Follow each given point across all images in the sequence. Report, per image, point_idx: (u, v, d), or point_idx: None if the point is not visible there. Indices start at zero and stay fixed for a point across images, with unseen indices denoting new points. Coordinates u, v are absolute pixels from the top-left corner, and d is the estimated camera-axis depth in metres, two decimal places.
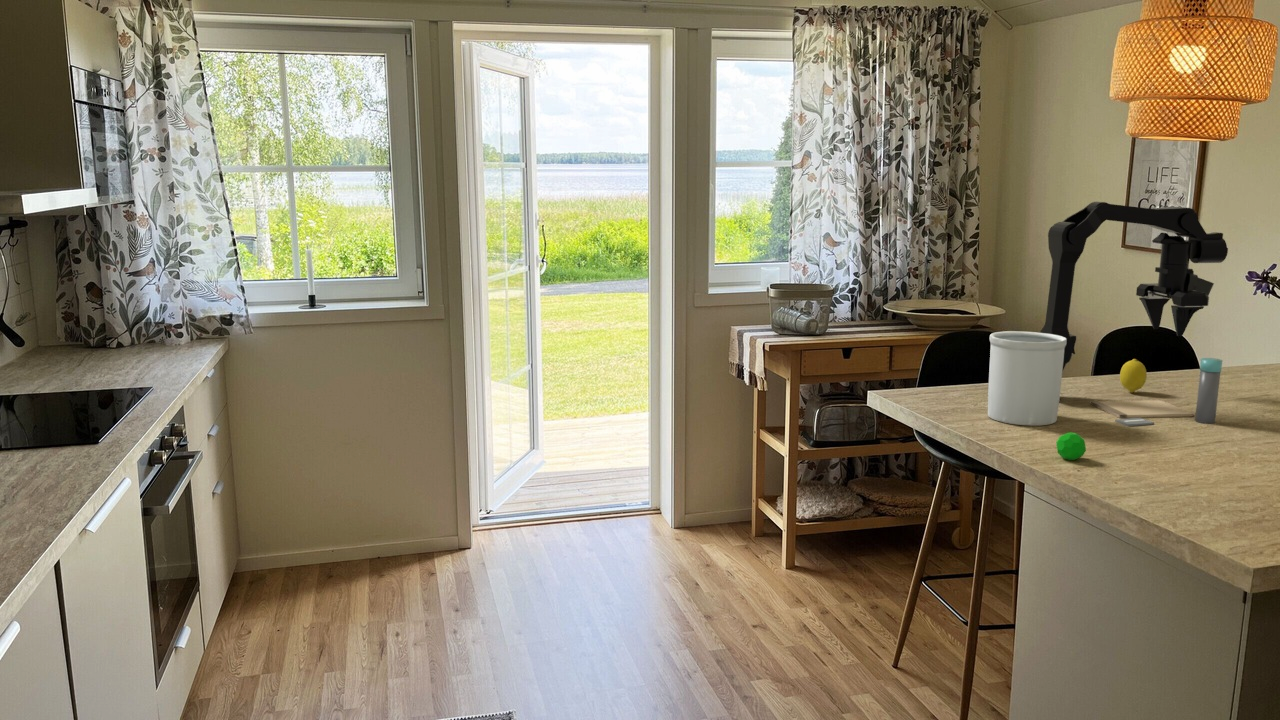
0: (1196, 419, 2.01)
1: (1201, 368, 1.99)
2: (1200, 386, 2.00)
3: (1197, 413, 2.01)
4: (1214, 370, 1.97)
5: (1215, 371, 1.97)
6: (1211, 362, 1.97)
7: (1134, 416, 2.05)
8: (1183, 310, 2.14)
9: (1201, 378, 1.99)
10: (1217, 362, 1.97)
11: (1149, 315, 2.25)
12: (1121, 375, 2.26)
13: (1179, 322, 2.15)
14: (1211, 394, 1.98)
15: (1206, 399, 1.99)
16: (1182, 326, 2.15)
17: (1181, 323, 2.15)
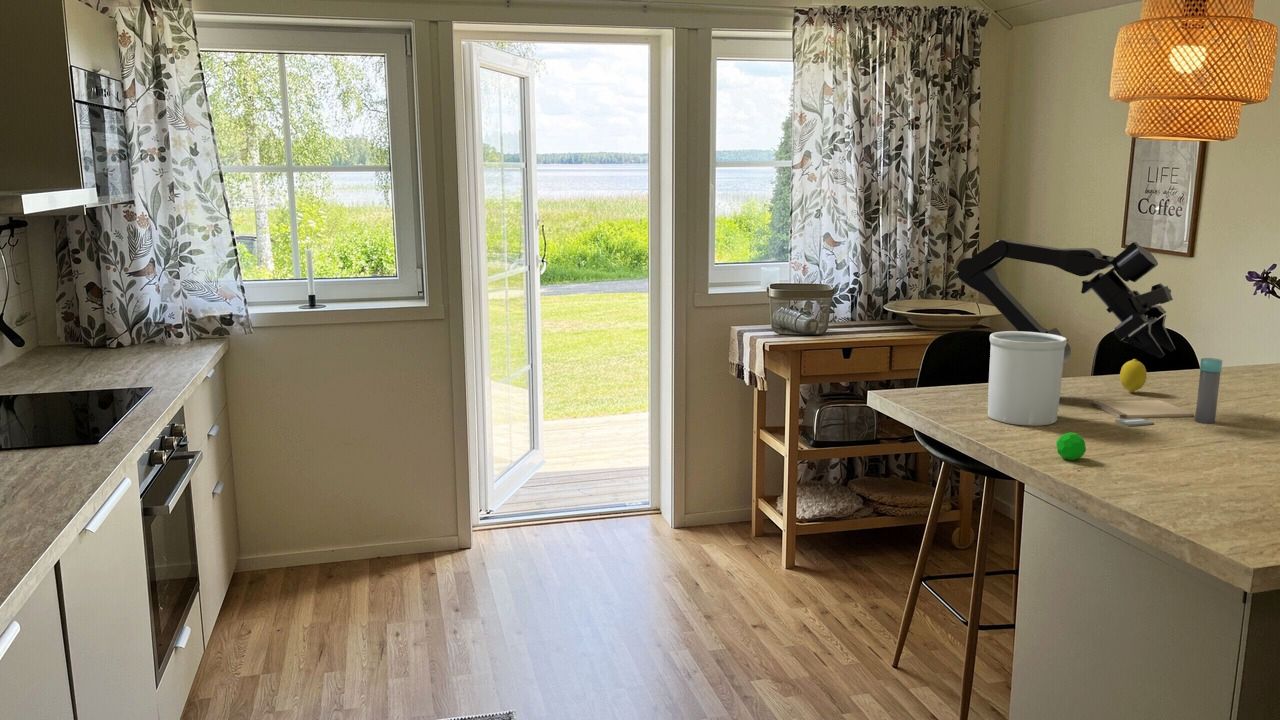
0: (1196, 419, 2.01)
1: (1201, 368, 1.99)
2: (1200, 386, 2.00)
3: (1197, 413, 2.01)
4: (1214, 370, 1.97)
5: (1215, 371, 1.97)
6: (1211, 362, 1.97)
7: (1134, 416, 2.05)
8: (1139, 336, 2.02)
9: (1201, 378, 1.99)
10: (1217, 362, 1.97)
11: (1157, 343, 2.10)
12: (1121, 375, 2.26)
13: (1146, 348, 2.01)
14: (1211, 394, 1.98)
15: (1206, 399, 1.99)
16: (1153, 349, 2.01)
17: (1149, 347, 2.01)
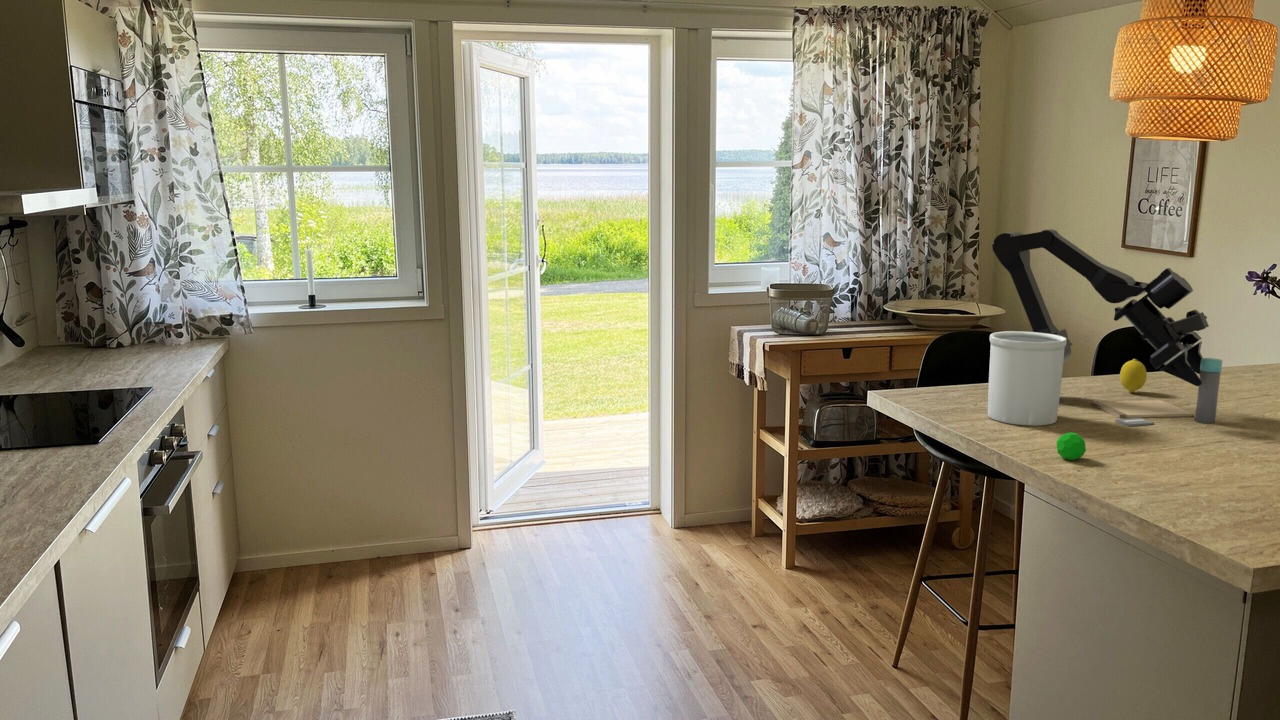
0: (1196, 419, 2.01)
1: (1201, 368, 1.99)
2: (1200, 386, 2.00)
3: (1197, 413, 2.01)
4: (1214, 370, 1.97)
5: (1215, 371, 1.97)
6: (1211, 362, 1.97)
7: (1134, 416, 2.05)
8: (1175, 364, 1.98)
9: (1201, 378, 1.99)
10: (1217, 362, 1.97)
11: (1193, 370, 2.06)
12: (1121, 375, 2.26)
13: (1183, 376, 1.98)
14: (1211, 394, 1.98)
15: (1206, 399, 1.99)
16: (1190, 377, 1.97)
17: (1185, 376, 1.97)
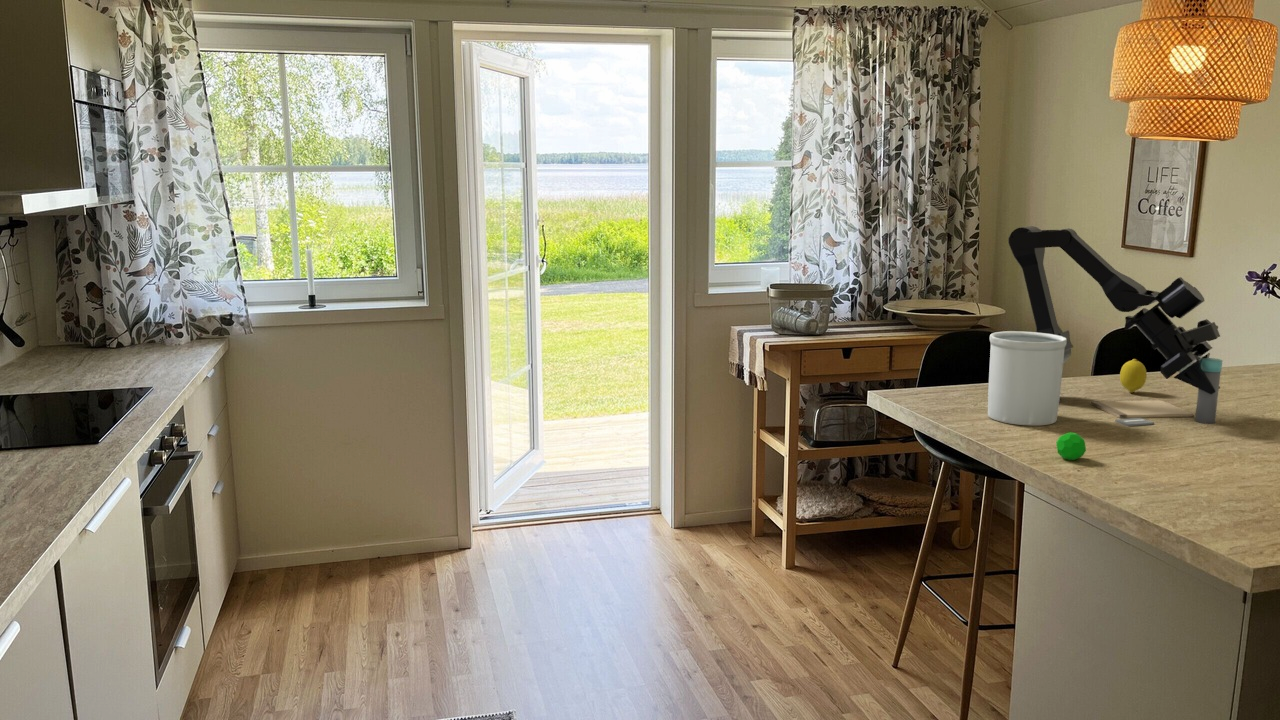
0: (1196, 419, 2.01)
1: (1201, 368, 1.99)
2: None
3: (1197, 413, 2.01)
4: (1214, 370, 1.97)
5: (1215, 371, 1.97)
6: (1211, 362, 1.97)
7: (1134, 416, 2.05)
8: (1189, 372, 1.99)
9: None
10: (1217, 362, 1.97)
11: None
12: (1121, 375, 2.26)
13: (1197, 384, 1.99)
14: (1211, 394, 1.98)
15: (1206, 399, 1.99)
16: (1204, 385, 1.98)
17: (1199, 384, 1.98)
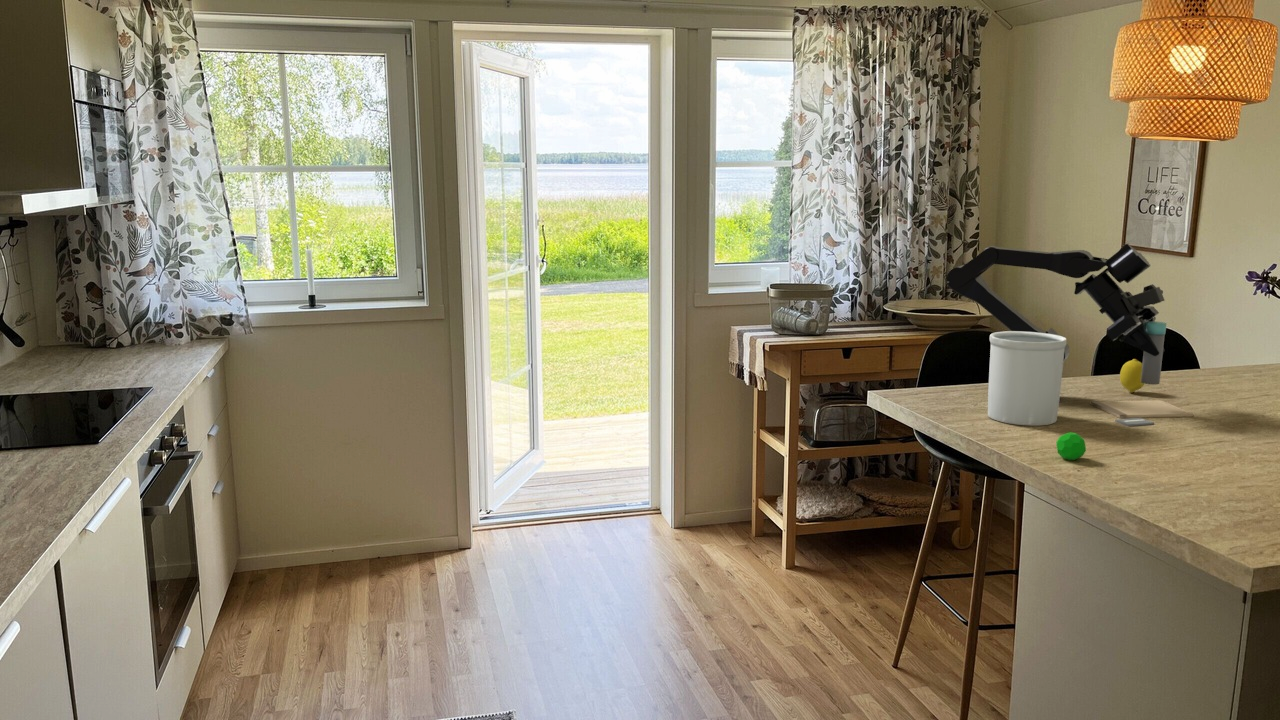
0: (1141, 380, 2.09)
1: (1146, 331, 2.06)
2: None
3: (1142, 374, 2.08)
4: (1158, 332, 2.05)
5: (1159, 333, 2.05)
6: (1155, 325, 2.05)
7: (1134, 416, 2.05)
8: (1135, 335, 2.06)
9: None
10: (1161, 325, 2.04)
11: None
12: (1121, 375, 2.26)
13: (1142, 347, 2.06)
14: None
15: (1151, 361, 2.06)
16: (1148, 347, 2.05)
17: (1144, 346, 2.05)
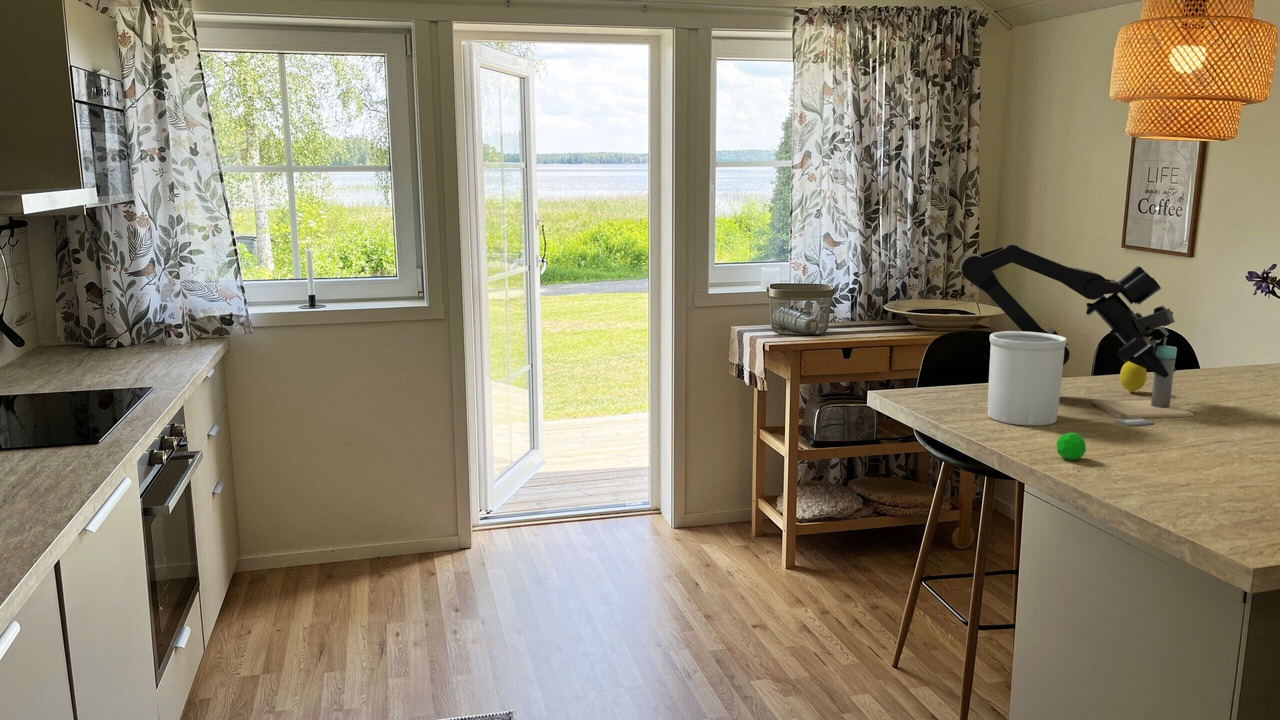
0: (1152, 403, 2.12)
1: (1157, 355, 2.10)
2: None
3: (1153, 398, 2.11)
4: (1169, 357, 2.08)
5: (1170, 358, 2.08)
6: (1166, 349, 2.08)
7: (1134, 416, 2.05)
8: (1144, 357, 2.09)
9: None
10: (1172, 349, 2.08)
11: None
12: (1121, 375, 2.26)
13: (1151, 368, 2.08)
14: (1166, 379, 2.09)
15: (1161, 384, 2.09)
16: (1158, 369, 2.08)
17: (1154, 367, 2.08)
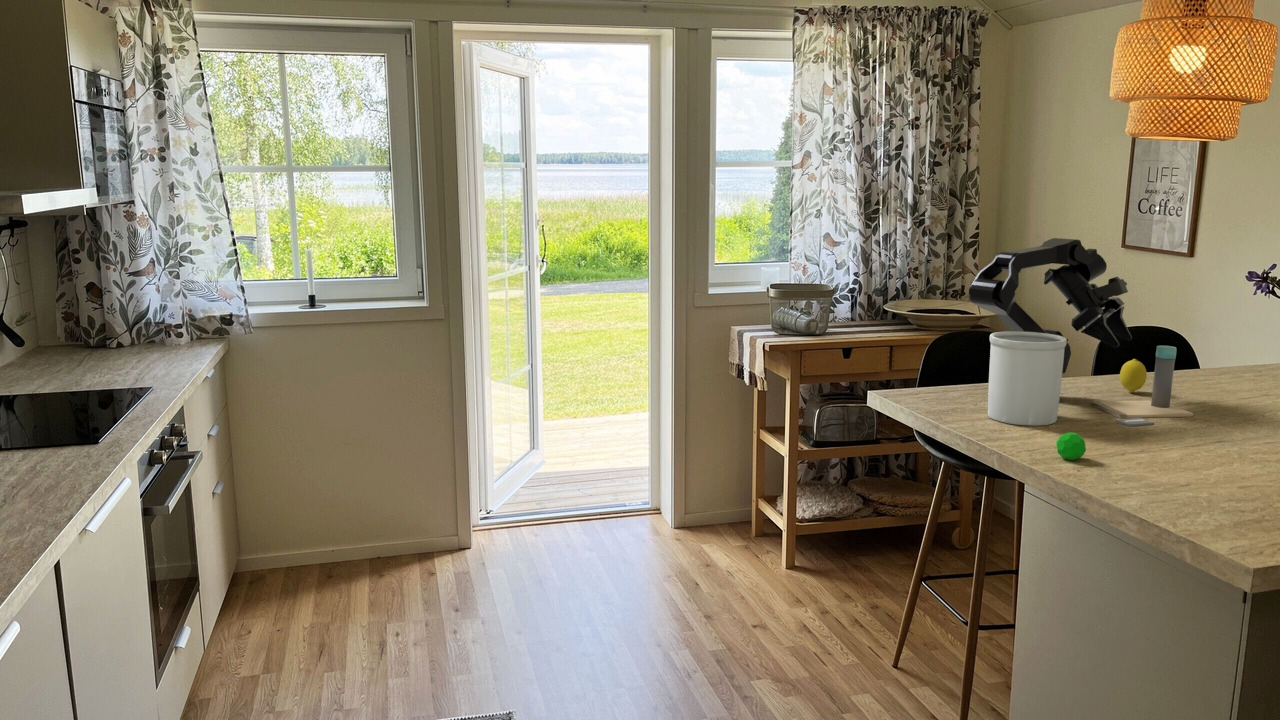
0: (1152, 404, 2.12)
1: (1157, 355, 2.10)
2: (1156, 372, 2.10)
3: (1153, 398, 2.11)
4: (1168, 357, 2.08)
5: (1169, 358, 2.08)
6: (1166, 349, 2.08)
7: (1134, 416, 2.05)
8: (1095, 327, 2.13)
9: (1156, 364, 2.10)
10: (1171, 349, 2.08)
11: None
12: (1121, 375, 2.26)
13: (1102, 338, 2.12)
14: (1166, 379, 2.09)
15: (1161, 384, 2.09)
16: (1109, 339, 2.12)
17: (1104, 337, 2.12)
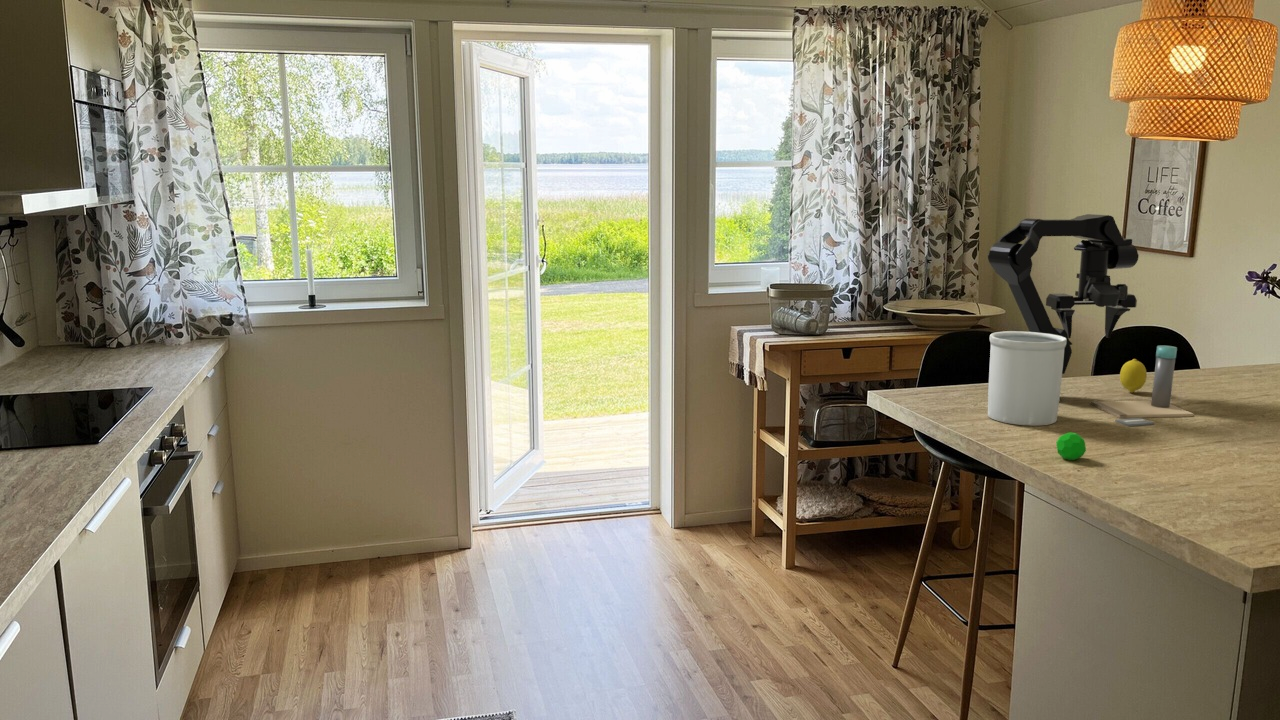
0: (1152, 403, 2.12)
1: (1157, 355, 2.10)
2: (1156, 372, 2.10)
3: (1153, 398, 2.12)
4: (1169, 356, 2.08)
5: (1170, 357, 2.08)
6: (1166, 349, 2.08)
7: (1134, 416, 2.05)
8: (1064, 312, 2.24)
9: (1157, 364, 2.10)
10: (1172, 349, 2.08)
11: None
12: (1121, 375, 2.26)
13: (1062, 324, 2.25)
14: (1166, 379, 2.09)
15: (1161, 384, 2.10)
16: (1065, 328, 2.24)
17: (1063, 325, 2.24)
